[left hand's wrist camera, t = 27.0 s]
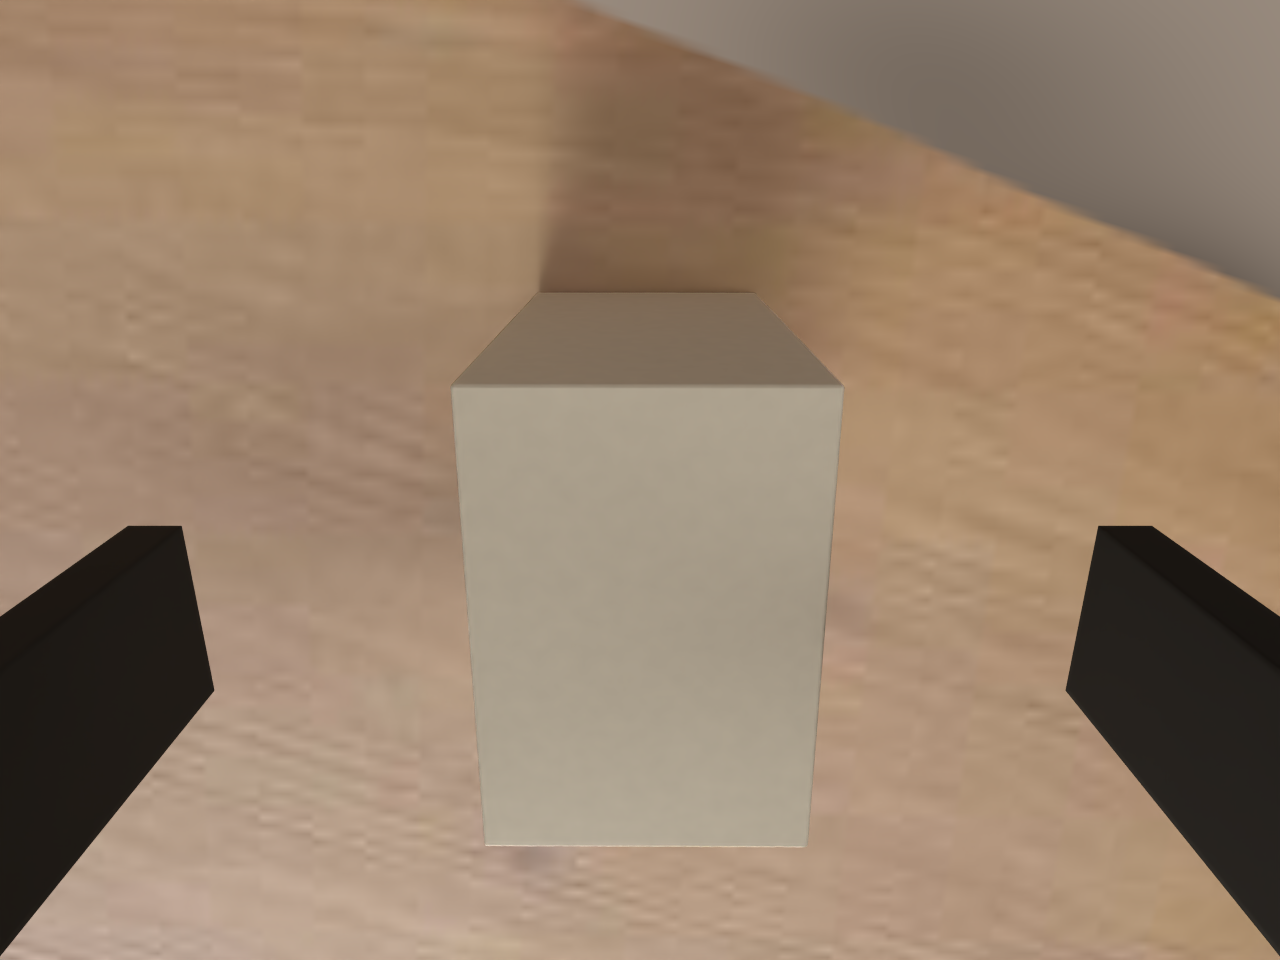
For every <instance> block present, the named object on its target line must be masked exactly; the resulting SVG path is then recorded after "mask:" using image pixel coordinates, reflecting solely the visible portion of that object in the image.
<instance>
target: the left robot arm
mask: <svg viewBox="0 0 1280 960" xmlns="http://www.w3.org/2000/svg"><path fill="white" fill-rule="evenodd" d="M213 692H214V686H213V681H212V676H211V671H210V666H209V661H208V656H207V651H206V646H205V641H204V636H203V631H202V626H201V621H200V616H199V611H198V606H197V601H196V596H195V591H194V586H193V581H192V576H191V571H190V566H189V561H188V556H187V551H186V546H185V541H184V536H183V531H182V526H127V527H126V528H124V529H123V530H122V531H120V532H119V533H117V534H116V535H115V536H113V537H112V538H110V539H109V540H108V541H106V542H105V543H103V544H102V545H101V546H99V547H98V548H96V549H95V550H93V551H92V552H91V553H89V554H88V555H86V556H85V557H84V558H82V559H81V560H79V561H78V562H77V563H75V564H74V565H72V566H71V567H70V568H68V569H67V570H65V571H64V572H62V573H61V574H60V575H58V576H57V577H55V578H54V579H53V580H51V581H50V582H48V583H47V584H46V585H44V586H43V587H41V588H40V589H39V590H37V591H36V592H34V593H33V594H31V595H30V596H29V597H27V598H26V599H24V600H23V601H22V602H20V603H19V604H17V605H16V606H15V607H13V608H12V609H10V610H9V611H8V612H6V613H5V614H3V615H2V616H0V956H1V954H2V953H3V952H4V951H5V950H6V948H7V947H8V946H9V945H10V943H11V942H12V941H13V940H14V938H15V937H16V936H17V935H18V933H19V932H20V931H21V930H22V928H23V927H24V926H25V925H26V923H27V922H28V921H29V920H30V919H31V917H32V916H33V915H34V914H35V912H36V911H37V910H38V909H39V907H40V906H41V905H42V904H43V902H44V901H45V900H46V899H47V897H48V896H49V895H50V894H51V892H52V891H53V890H54V889H55V888H56V886H57V885H58V884H59V883H60V881H61V880H62V879H63V878H64V876H65V875H66V874H67V873H68V871H69V870H70V869H71V868H72V866H73V865H74V864H75V863H76V861H77V860H78V859H79V858H80V857H81V855H82V854H83V853H84V852H85V850H86V849H87V848H88V847H89V845H90V844H91V843H92V842H93V840H94V839H95V838H96V837H97V835H98V834H99V833H100V832H101V830H102V829H103V828H104V827H105V826H106V824H107V823H108V822H109V821H110V819H111V818H112V817H113V816H114V814H115V813H116V812H117V811H118V809H119V808H120V807H121V806H122V804H123V803H124V802H125V801H126V799H127V798H128V797H129V796H130V794H131V793H132V792H133V791H134V790H135V788H136V787H137V786H138V785H139V783H140V782H141V781H142V780H143V778H144V777H145V776H146V775H147V773H148V772H149V771H150V770H151V768H152V767H153V766H154V765H155V763H156V762H157V761H158V760H159V759H160V757H161V756H162V755H163V754H164V752H165V751H166V750H167V749H168V747H169V746H170V745H171V744H172V742H173V741H174V740H175V739H176V737H177V736H178V735H179V734H180V732H181V731H182V730H183V729H184V728H185V726H186V725H187V724H188V723H189V721H190V720H191V719H192V718H193V716H194V715H195V714H196V713H197V711H198V710H199V709H200V708H201V706H202V705H203V704H204V703H205V701H206V700H207V699H208V698H209V697H210V695H211V694H212V693H213ZM1066 692H1067V693H1068V694H1069V695H1070V697H1071V698H1072V699H1073V700H1074V701H1075V703H1076V704H1077V705H1078V706H1079V708H1080V709H1081V710H1082V711H1083V713H1084V714H1085V715H1086V716H1087V718H1088V719H1089V720H1090V721H1091V723H1092V724H1093V725H1094V726H1095V728H1096V729H1097V730H1098V731H1099V732H1100V734H1101V735H1102V736H1103V737H1104V739H1105V740H1106V741H1107V742H1108V744H1109V745H1110V746H1111V747H1112V749H1113V750H1114V751H1115V752H1116V754H1117V755H1118V756H1119V757H1120V759H1121V760H1122V761H1123V762H1124V763H1125V765H1126V766H1127V767H1128V768H1129V770H1130V771H1131V772H1132V773H1133V775H1134V776H1135V777H1136V778H1137V780H1138V781H1139V782H1140V783H1141V785H1142V786H1143V787H1144V788H1145V790H1146V791H1147V792H1148V793H1149V795H1150V796H1151V797H1152V798H1153V799H1154V801H1155V802H1156V803H1157V804H1158V806H1159V807H1160V808H1161V809H1162V811H1163V812H1164V813H1165V814H1166V816H1167V817H1168V818H1169V819H1170V821H1171V822H1172V823H1173V824H1174V826H1175V827H1176V828H1177V829H1178V830H1179V832H1180V833H1181V834H1182V835H1183V837H1184V838H1185V839H1186V840H1187V842H1188V843H1189V844H1190V845H1191V847H1192V848H1193V849H1194V850H1195V852H1196V853H1197V854H1198V855H1199V857H1200V858H1201V859H1202V860H1203V861H1204V863H1205V864H1206V865H1207V866H1208V868H1209V869H1210V870H1211V871H1212V873H1213V874H1214V875H1215V876H1216V878H1217V879H1218V880H1219V881H1220V883H1221V884H1222V885H1223V886H1224V888H1225V889H1226V890H1227V891H1228V892H1229V894H1230V895H1231V896H1232V897H1233V899H1234V900H1235V901H1236V902H1237V904H1238V905H1239V906H1240V907H1241V909H1242V910H1243V911H1244V912H1245V914H1246V915H1247V916H1248V917H1249V919H1250V920H1251V921H1252V922H1253V923H1254V925H1255V926H1256V927H1257V928H1258V930H1259V931H1260V932H1261V933H1262V935H1263V936H1264V937H1265V938H1266V940H1267V941H1268V942H1269V943H1270V945H1271V946H1272V947H1273V948H1274V950H1275V951H1276V952H1277V953H1278V954H1279V956H1280V616H1278V615H1277V614H1275V613H1274V612H1272V611H1271V610H1270V609H1268V608H1267V607H1265V606H1264V605H1263V604H1261V603H1260V602H1258V601H1257V600H1256V599H1254V598H1253V597H1251V596H1250V595H1249V594H1247V593H1246V592H1244V591H1243V590H1241V589H1240V588H1239V587H1237V586H1236V585H1234V584H1233V583H1232V582H1230V581H1229V580H1227V579H1226V578H1225V577H1223V576H1222V575H1220V574H1219V573H1218V572H1216V571H1215V570H1213V569H1212V568H1210V567H1209V566H1208V565H1206V564H1205V563H1203V562H1202V561H1201V560H1199V559H1198V558H1196V557H1195V556H1194V555H1192V554H1191V553H1189V552H1188V551H1187V550H1185V549H1184V548H1182V547H1181V546H1179V545H1178V544H1177V543H1175V542H1174V541H1172V540H1171V539H1170V538H1168V537H1167V536H1165V535H1164V534H1163V533H1161V532H1160V531H1158V530H1157V529H1156V528H1154V527H1153V526H1098V530H1097V536H1096V541H1095V546H1094V551H1093V556H1092V561H1091V566H1090V571H1089V576H1088V581H1087V586H1086V591H1085V596H1084V601H1083V606H1082V611H1081V616H1080V621H1079V626H1078V631H1077V636H1076V641H1075V646H1074V651H1073V656H1072V661H1071V666H1070V671H1069V676H1068V681H1067V686H1066Z"/></svg>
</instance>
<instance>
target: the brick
mask: <svg viewBox="0 0 1280 960" xmlns="http://www.w3.org/2000/svg"><path fill="white" fill-rule="evenodd" d="M843 398H844V386H843V384H842V383H841V382H840V381H839V380H838V379H837V378H836V377H835V376H834V375H833V374H832V373H831V372H830V371H829V370H828V369H827V368H826V367H825V365H824V364H823V363H822V362H821V361H820V360H819V359H818V358H817V357H816V356H815V355H814V354H813V353H812V352H811V351H810V350H809V349H808V348H807V347H806V346H805V345H804V343H803V342H802V341H801V340H800V339H799V338H798V337H797V336H796V335H795V334H794V333H793V332H792V331H791V330H790V329H789V328H788V327H787V326H786V325H785V324H784V323H783V321H782V320H781V319H780V318H779V317H778V316H777V315H776V314H775V313H774V312H773V311H772V310H771V309H770V308H769V307H768V306H767V305H766V304H765V303H764V302H763V301H762V299H761V298H760V297H759V296H758V295H757V294H756V293H537V294H536V295H535V296H534V297H533V298H532V299H531V300H530V301H529V302H528V303H527V304H526V306H525V307H524V308H523V309H522V310H521V311H520V312H519V313H518V314H517V315H516V316H515V317H514V318H513V319H512V321H511V322H510V323H509V324H508V325H507V326H506V327H505V328H504V329H503V330H502V331H501V332H500V333H499V334H498V336H497V337H496V338H495V339H494V340H493V341H492V342H491V343H490V344H489V345H488V346H487V347H486V348H485V349H484V351H483V352H482V353H481V354H480V355H479V356H478V357H477V358H476V359H475V360H474V361H473V362H472V363H471V364H470V366H469V367H468V368H467V369H466V370H465V371H464V372H463V373H462V374H461V375H460V376H459V377H458V378H457V379H456V380H455V382H454V383H453V384H452V385H451V399H452V413H453V426H454V440H455V453H456V467H457V480H458V494H459V507H460V521H461V534H462V548H463V561H464V575H465V588H466V602H467V615H468V629H469V642H470V656H471V669H472V683H473V696H474V710H475V723H476V737H477V750H478V764H479V777H480V791H481V804H482V818H483V831H484V843H485V845H486V846H649V847H807V844H808V835H809V822H810V810H811V797H812V785H813V772H814V760H815V747H816V735H817V722H818V710H819V698H820V685H821V673H822V660H823V648H824V635H825V623H826V610H827V598H828V585H829V573H830V560H831V548H832V535H833V523H834V510H835V498H836V485H837V473H838V460H839V448H840V435H841V423H842V411H843Z"/></svg>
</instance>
